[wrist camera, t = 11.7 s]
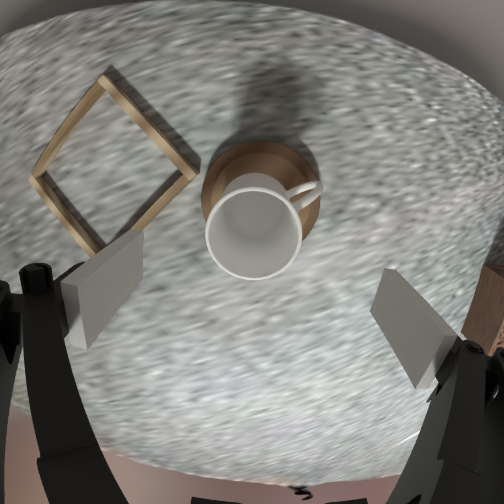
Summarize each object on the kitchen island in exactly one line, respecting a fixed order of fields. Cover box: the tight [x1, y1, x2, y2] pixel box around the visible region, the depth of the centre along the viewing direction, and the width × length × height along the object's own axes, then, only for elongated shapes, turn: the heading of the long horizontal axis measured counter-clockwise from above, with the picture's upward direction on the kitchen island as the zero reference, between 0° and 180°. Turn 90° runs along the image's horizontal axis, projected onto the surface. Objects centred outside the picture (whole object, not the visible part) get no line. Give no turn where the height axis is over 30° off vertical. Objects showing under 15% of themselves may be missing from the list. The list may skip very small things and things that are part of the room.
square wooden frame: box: [28, 75, 199, 258], centre depth 36 cm, size 20×20×2 cm
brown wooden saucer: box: [201, 141, 320, 241], centre depth 37 cm, size 15×15×3 cm
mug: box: [205, 173, 323, 280], centre depth 30 cm, size 12×8×12 cm
